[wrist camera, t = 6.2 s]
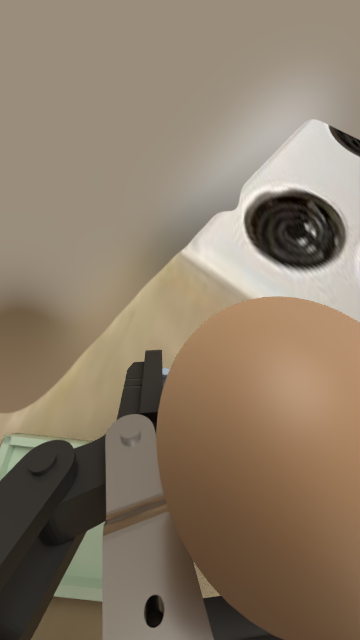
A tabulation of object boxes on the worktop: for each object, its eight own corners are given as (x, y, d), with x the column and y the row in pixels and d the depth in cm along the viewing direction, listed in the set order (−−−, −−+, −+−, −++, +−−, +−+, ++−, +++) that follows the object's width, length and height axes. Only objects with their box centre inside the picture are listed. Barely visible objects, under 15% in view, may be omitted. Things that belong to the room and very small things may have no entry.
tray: (-29, 567, 22) (-50, 585, 20) (17, 432, 26) (4, 435, 24) (132, 585, 22) (128, 604, 20) (151, 448, 26) (149, 452, 24)
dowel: (160, 432, 16) (128, 630, 2) (166, 381, 17) (175, 281, 3) (209, 438, 16) (518, 670, 2) (211, 387, 17) (410, 313, 3)
